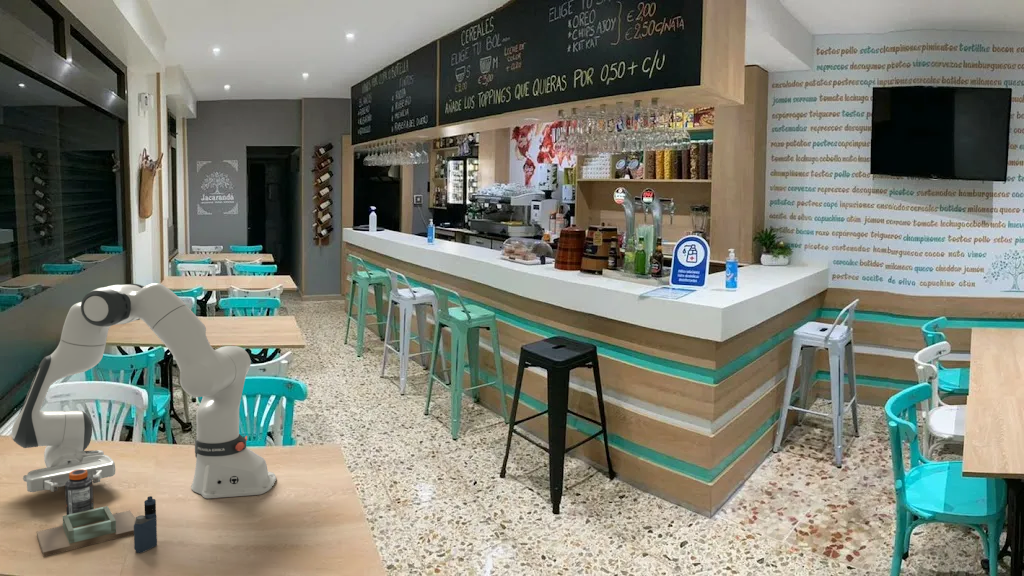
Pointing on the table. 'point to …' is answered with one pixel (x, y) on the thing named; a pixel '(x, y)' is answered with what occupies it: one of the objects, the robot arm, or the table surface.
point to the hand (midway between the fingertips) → (76, 484)
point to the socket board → (86, 530)
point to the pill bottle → (78, 492)
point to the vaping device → (146, 527)
